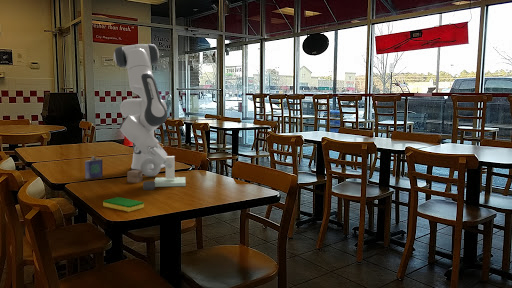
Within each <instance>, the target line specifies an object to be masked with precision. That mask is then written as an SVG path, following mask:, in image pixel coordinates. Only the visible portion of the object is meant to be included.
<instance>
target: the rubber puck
mask: <svg viewBox="0 0 512 288" xmlns="http://www.w3.org/2000/svg"><path fill="white" fill-rule="evenodd" d="M154 181H155V180H154ZM154 181H153V180H152V181H151V180H148V181H142V182H143V183H142V184H143V185H142V188H143V190H144V191H154V190H156V187H155V182H154Z"/></svg>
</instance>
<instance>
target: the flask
mask: <svg viewBox="0 0 512 288" xmlns="http://www.w3.org/2000/svg"><path fill="white" fill-rule="evenodd" d="M103 164H104V163H103V159H102V158H99V157H96V158H95V156H94V155H92V156H91V159H89V160H85V161H84V167H85V169H84V171H85V172H84V173H85V174H84V175H85V177H84V179H85V180H93V179H98V178H99V179H100V178H103V170H104V169H103Z"/></svg>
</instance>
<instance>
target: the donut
mask: <svg viewBox="0 0 512 288" xmlns="http://www.w3.org/2000/svg"><path fill="white" fill-rule="evenodd" d="M149 164H153V165H154V168H153V169H148V168H147V166H148V165H149ZM140 168H141V171H142V175H144V176H145V177H150V178H151V177H155V176H157V175H158V174H159V173H160V171H161V169H162V168H161V165H159V164H158V163H157V162H156V161H155V160H154V159H153V158H152V157H148V158H146V159H144V160H143V161H142V163H141V167H140Z"/></svg>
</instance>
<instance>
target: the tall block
mask: <svg viewBox="0 0 512 288" xmlns="http://www.w3.org/2000/svg"><path fill="white" fill-rule="evenodd" d="M166 160H167V161H168V162H169V163H170V164H171V165H172V167H171V168H170V169H169V168H168V167H167V166H165V167H164V168H165V177H166V179H175V177H176V176H175V171H176V170H175V162H176V161H175V160H176V159H175V155H167V156H166Z"/></svg>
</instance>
